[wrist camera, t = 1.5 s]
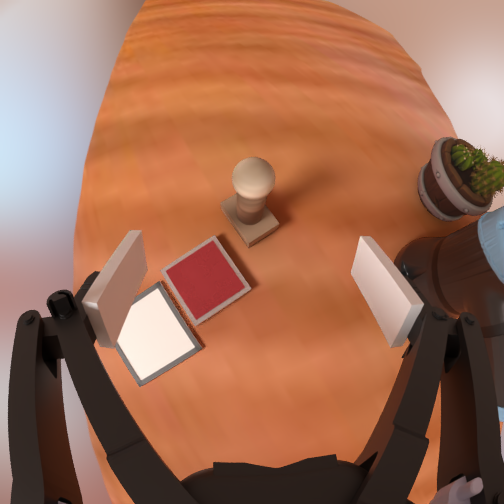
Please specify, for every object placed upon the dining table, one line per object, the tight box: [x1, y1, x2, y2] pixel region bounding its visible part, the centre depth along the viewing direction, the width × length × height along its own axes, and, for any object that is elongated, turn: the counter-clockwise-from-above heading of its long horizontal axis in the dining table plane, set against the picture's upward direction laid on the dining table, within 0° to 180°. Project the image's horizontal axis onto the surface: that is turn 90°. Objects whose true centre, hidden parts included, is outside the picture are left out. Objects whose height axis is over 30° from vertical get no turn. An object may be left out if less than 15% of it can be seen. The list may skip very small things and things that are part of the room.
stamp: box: [221, 157, 279, 248], centre depth 34 cm, size 7×5×15 cm
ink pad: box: [160, 235, 251, 326], centre depth 37 cm, size 9×9×2 cm
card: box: [115, 281, 203, 387], centre depth 35 cm, size 11×11×1 cm
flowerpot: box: [418, 137, 504, 221], centre depth 35 cm, size 14×15×20 cm
